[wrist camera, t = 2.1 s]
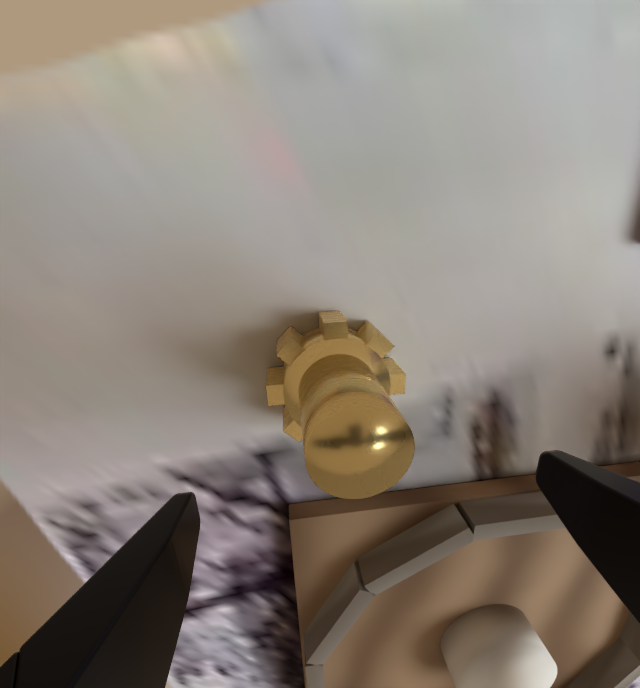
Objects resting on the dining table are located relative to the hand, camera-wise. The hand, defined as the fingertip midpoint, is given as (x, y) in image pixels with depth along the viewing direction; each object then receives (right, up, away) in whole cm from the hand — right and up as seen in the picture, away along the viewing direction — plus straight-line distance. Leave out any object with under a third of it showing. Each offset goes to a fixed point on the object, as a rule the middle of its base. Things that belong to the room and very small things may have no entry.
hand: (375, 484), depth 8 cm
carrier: (+9, -15, +14) cm, 23 cm away
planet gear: (-1, +2, +7) cm, 7 cm away
